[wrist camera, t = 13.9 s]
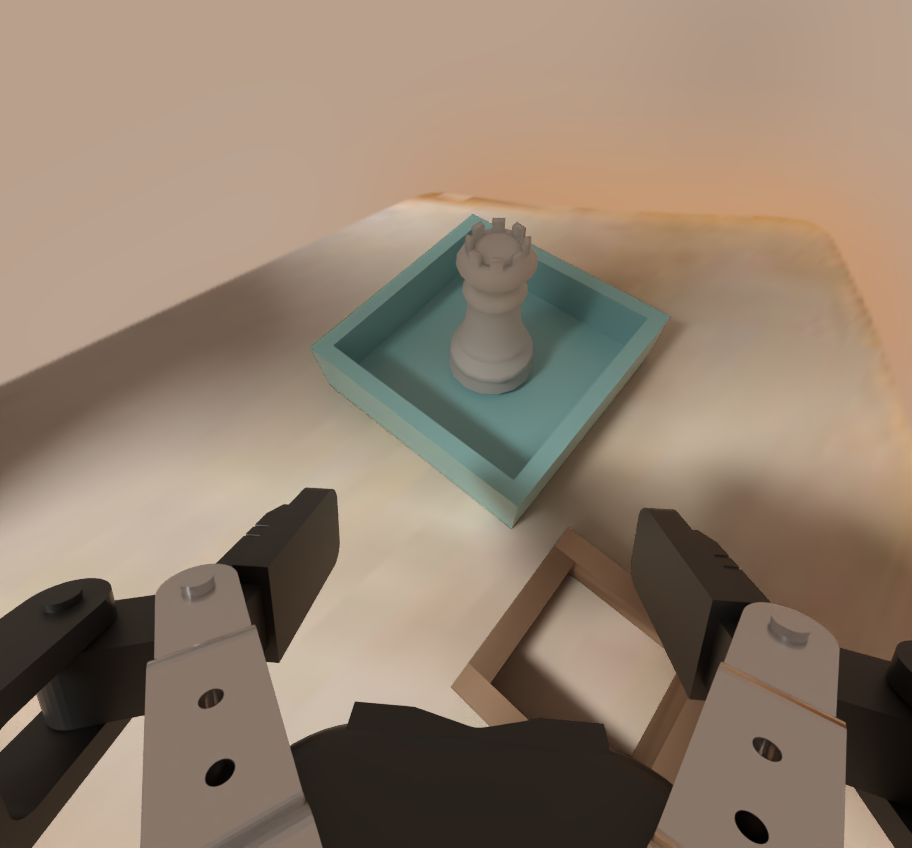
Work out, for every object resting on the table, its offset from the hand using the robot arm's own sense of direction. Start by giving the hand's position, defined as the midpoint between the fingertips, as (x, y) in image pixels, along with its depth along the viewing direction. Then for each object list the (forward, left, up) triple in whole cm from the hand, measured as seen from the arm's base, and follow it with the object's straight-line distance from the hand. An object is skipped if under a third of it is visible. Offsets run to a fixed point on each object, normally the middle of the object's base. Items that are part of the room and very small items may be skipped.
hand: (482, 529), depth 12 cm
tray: (-7, +9, -9) cm, 14 cm away
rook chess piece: (-6, +9, -8) cm, 14 cm away
